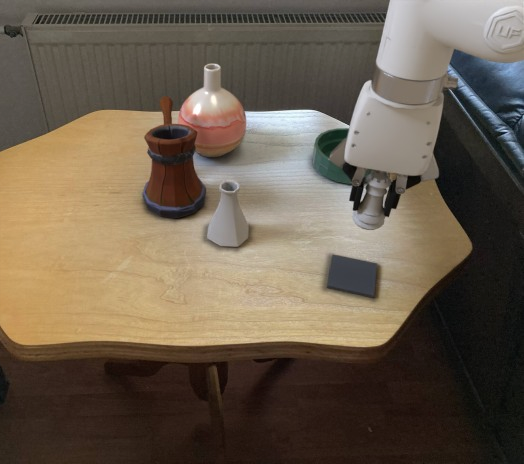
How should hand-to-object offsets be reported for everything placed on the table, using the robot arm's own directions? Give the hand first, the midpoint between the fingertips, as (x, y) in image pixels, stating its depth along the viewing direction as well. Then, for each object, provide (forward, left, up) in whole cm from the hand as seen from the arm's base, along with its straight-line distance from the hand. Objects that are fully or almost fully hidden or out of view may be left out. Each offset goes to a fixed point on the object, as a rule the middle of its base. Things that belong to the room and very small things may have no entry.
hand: (371, 206), depth 70 cm
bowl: (+4, -30, -14) cm, 33 cm away
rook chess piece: (0, 0, -3) cm, 3 cm away
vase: (+31, -28, -14) cm, 44 cm away
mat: (0, 0, -14) cm, 14 cm away
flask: (+21, -4, -14) cm, 26 cm away
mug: (+34, -13, -14) cm, 39 cm away
